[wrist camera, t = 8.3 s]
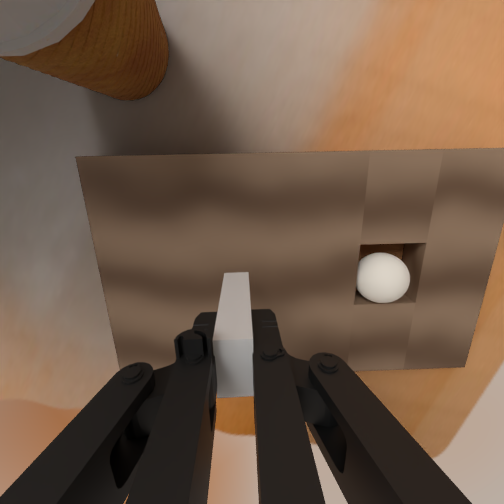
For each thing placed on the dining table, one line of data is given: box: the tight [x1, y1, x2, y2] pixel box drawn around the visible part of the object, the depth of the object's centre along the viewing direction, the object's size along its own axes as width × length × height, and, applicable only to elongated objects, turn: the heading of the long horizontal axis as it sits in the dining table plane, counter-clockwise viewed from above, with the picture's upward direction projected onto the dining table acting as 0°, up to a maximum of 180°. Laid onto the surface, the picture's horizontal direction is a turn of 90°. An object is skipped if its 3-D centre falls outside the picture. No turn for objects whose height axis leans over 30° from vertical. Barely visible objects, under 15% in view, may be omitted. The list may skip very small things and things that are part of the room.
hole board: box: [75, 148, 504, 371], centre depth 20 cm, size 18×30×2 cm, turn 91°
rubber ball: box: [356, 253, 410, 303], centre depth 20 cm, size 4×4×4 cm
